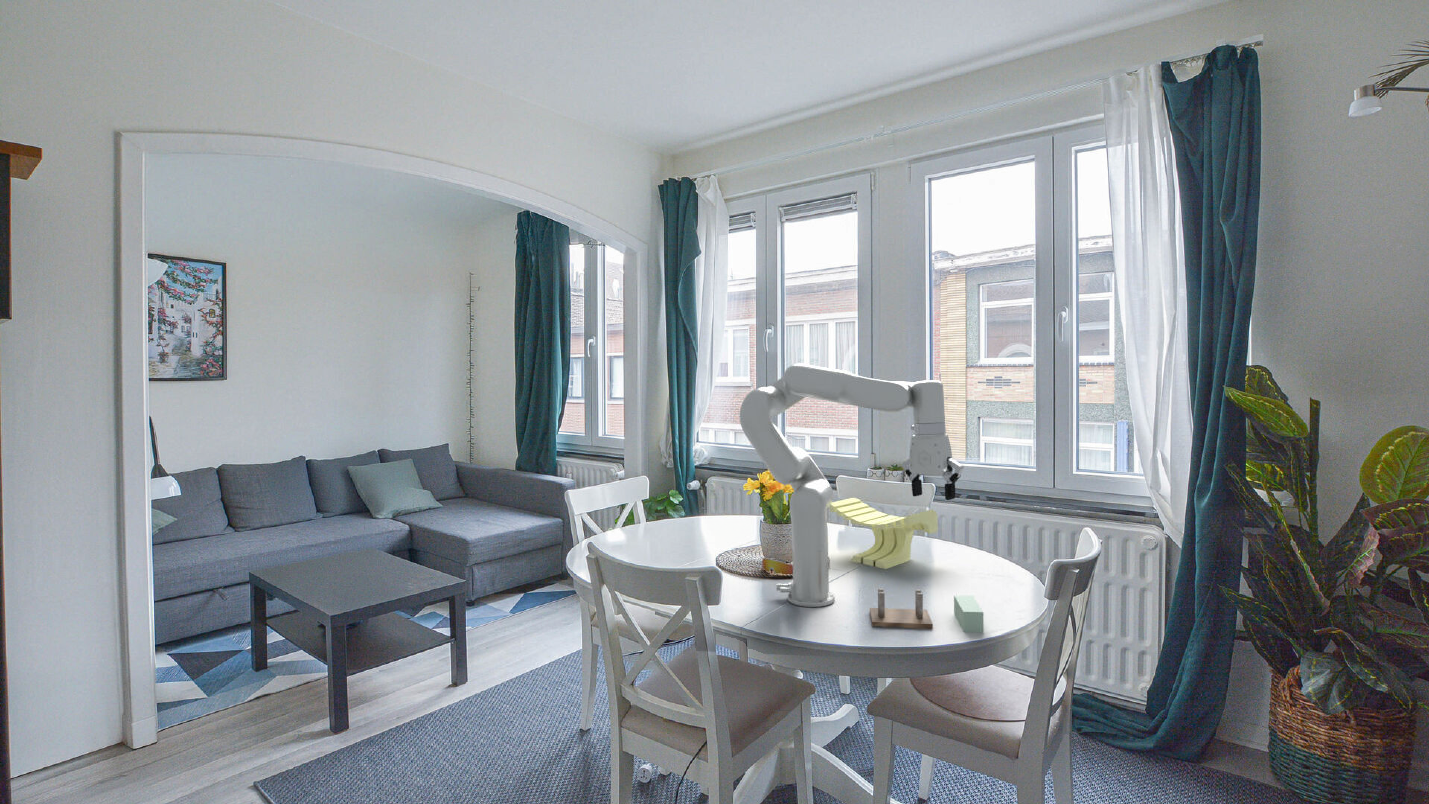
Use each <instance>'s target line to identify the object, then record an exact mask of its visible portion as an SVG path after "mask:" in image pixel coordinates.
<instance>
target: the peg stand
mask: <svg viewBox="0 0 1429 804" xmlns="http://www.w3.org/2000/svg"><path fill="white" fill-rule="evenodd" d="M914 591H915V592H914V593H915V594H914V595H915V602H914V603H915V608H914V609H911V608H886V607H885V605H886V604H885V603H886V601H885V594H886V593H885V589H884V588H878V589H877V607H869V615H870V621H871V627H872V626H882V627H881V628H892V627H902V628H901V629H920V628H921V630H923V629H924V630H933V628H934V626H933V621H932V619H931V617H930V614H929V611H928V609H924V608H923V607H924V602H923V601H924V599H923V598H924V597H923V596H924V595H923V593H922V590H921V589H915V590H914Z"/></svg>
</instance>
